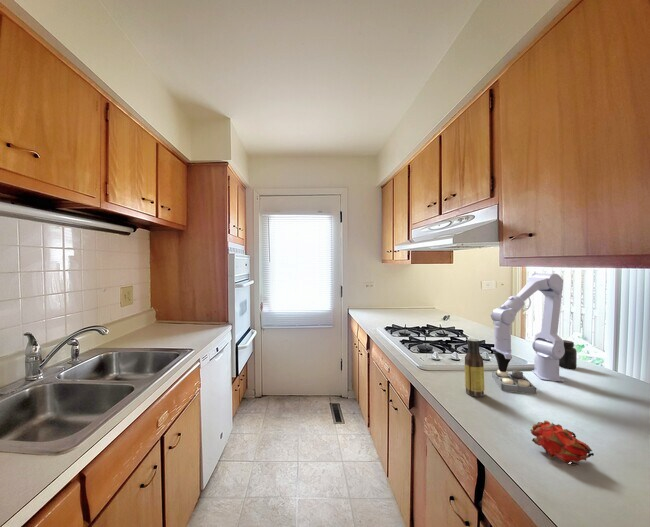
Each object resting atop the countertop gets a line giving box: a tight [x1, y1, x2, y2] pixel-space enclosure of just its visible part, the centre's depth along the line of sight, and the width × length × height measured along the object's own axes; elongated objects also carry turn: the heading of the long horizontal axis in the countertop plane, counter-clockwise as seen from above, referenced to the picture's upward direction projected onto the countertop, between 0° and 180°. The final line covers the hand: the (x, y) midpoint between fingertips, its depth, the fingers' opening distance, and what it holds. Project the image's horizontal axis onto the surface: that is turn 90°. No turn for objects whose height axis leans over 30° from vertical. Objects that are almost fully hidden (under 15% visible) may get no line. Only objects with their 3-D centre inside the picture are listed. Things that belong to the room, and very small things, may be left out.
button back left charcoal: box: [511, 369, 524, 379], centre depth 111 cm, size 4×4×2 cm
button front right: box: [502, 378, 513, 385], centre depth 106 cm, size 4×4×2 cm
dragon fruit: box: [530, 420, 595, 466], centre depth 68 cm, size 8×8×12 cm
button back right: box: [496, 369, 509, 378], centre depth 112 cm, size 4×4×2 cm
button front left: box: [518, 380, 529, 386], centre depth 105 cm, size 4×4×2 cm
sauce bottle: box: [464, 338, 485, 398], centre depth 102 cm, size 6×6×20 cm
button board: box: [491, 371, 538, 395], centre depth 109 cm, size 13×11×2 cm
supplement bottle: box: [559, 339, 578, 370], centre depth 128 cm, size 7×7×12 cm
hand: (502, 371), depth 112 cm, fingers closed, pressing on button back right
